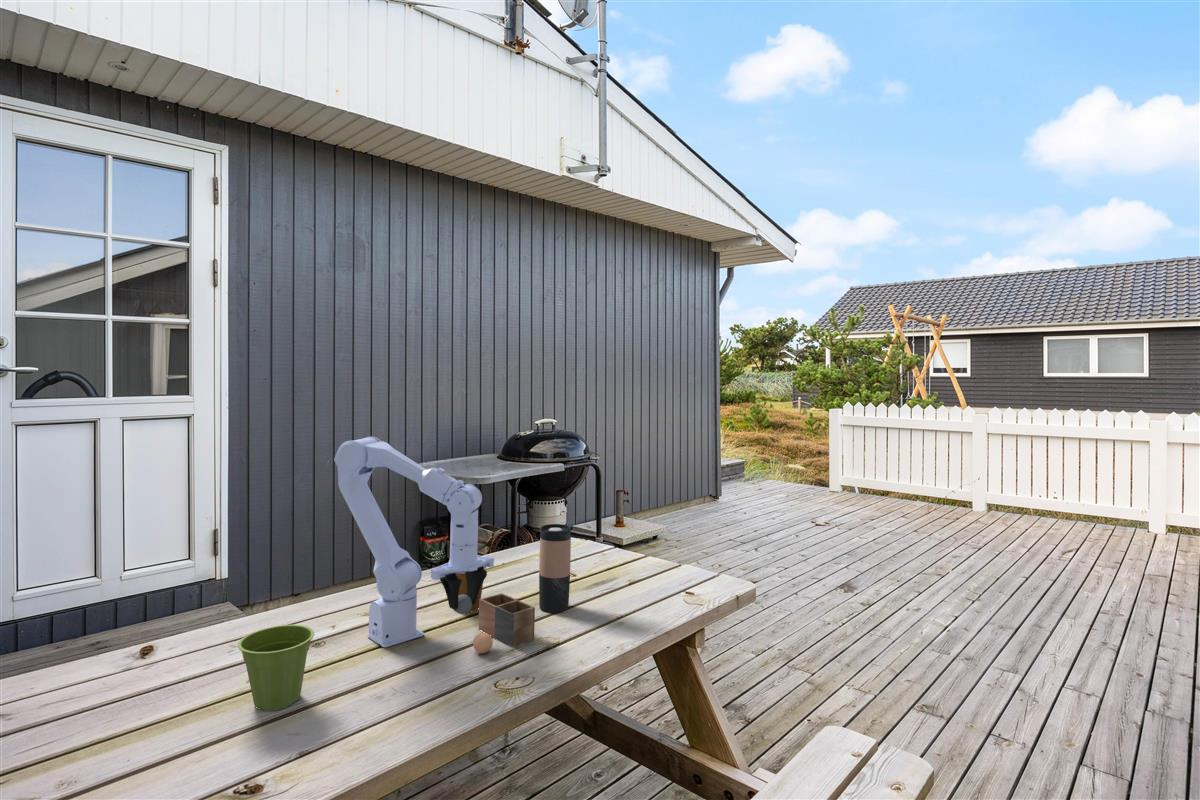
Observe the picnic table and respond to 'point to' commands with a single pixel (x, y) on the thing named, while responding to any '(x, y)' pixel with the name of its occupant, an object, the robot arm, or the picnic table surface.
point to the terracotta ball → (482, 643)
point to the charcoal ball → (464, 604)
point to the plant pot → (276, 664)
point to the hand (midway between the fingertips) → (462, 605)
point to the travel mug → (554, 568)
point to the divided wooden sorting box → (507, 619)
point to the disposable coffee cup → (464, 589)
